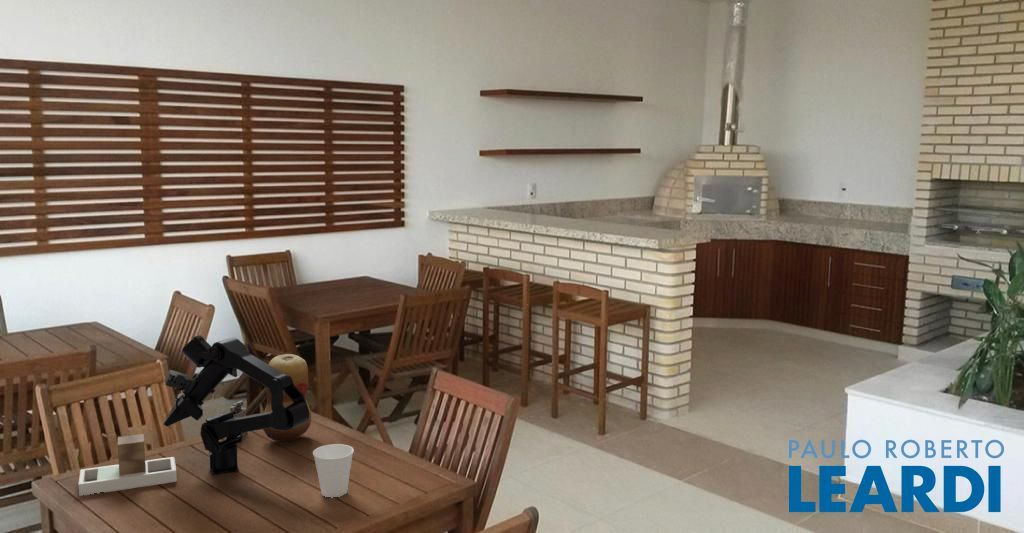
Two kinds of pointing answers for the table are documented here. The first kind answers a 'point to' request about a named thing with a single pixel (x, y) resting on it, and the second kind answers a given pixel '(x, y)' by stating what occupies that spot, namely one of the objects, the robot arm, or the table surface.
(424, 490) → the table surface
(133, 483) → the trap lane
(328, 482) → the cup
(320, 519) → the table surface
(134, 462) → the walnut block
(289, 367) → the butternut squash
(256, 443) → the table surface
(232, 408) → the lighter
